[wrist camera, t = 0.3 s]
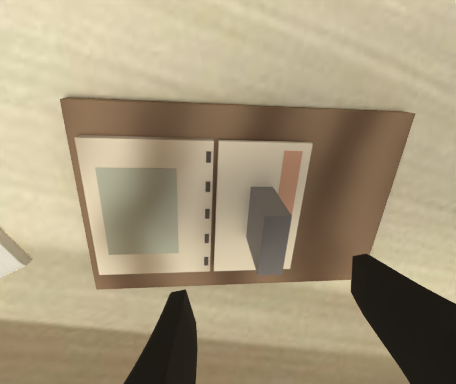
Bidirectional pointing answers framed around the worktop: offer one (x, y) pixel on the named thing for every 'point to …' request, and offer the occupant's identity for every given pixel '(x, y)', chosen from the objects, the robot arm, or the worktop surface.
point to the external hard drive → (11, 255)
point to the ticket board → (207, 183)
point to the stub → (258, 204)
